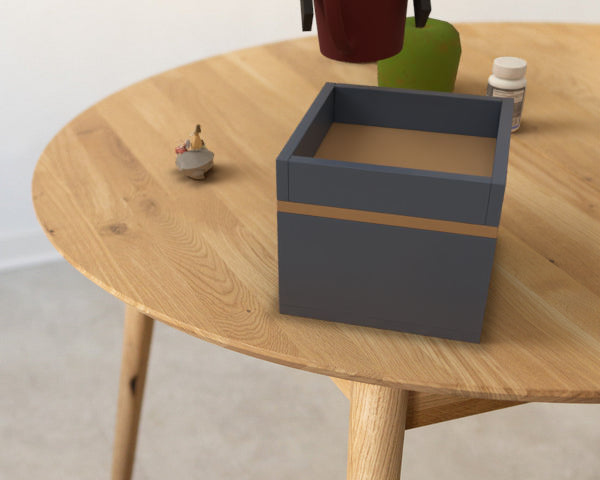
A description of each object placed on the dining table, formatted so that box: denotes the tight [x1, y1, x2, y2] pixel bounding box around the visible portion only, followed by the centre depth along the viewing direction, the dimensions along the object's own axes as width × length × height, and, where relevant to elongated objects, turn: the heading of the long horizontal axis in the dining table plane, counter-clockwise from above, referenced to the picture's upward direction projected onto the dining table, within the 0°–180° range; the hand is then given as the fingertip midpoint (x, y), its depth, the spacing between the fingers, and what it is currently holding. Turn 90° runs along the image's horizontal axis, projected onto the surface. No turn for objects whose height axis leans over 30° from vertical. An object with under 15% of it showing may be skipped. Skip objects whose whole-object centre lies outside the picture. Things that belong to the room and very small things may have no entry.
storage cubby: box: [275, 81, 514, 345], centre depth 68 cm, size 17×17×14 cm
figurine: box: [174, 123, 215, 181], centre depth 87 cm, size 5×4×6 cm
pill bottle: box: [485, 55, 528, 133], centre depth 97 cm, size 5×5×8 cm
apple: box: [376, 15, 463, 93], centre depth 105 cm, size 11×11×11 cm
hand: (366, 20), depth 64 cm, fingers closed on mug, 9 cm apart
